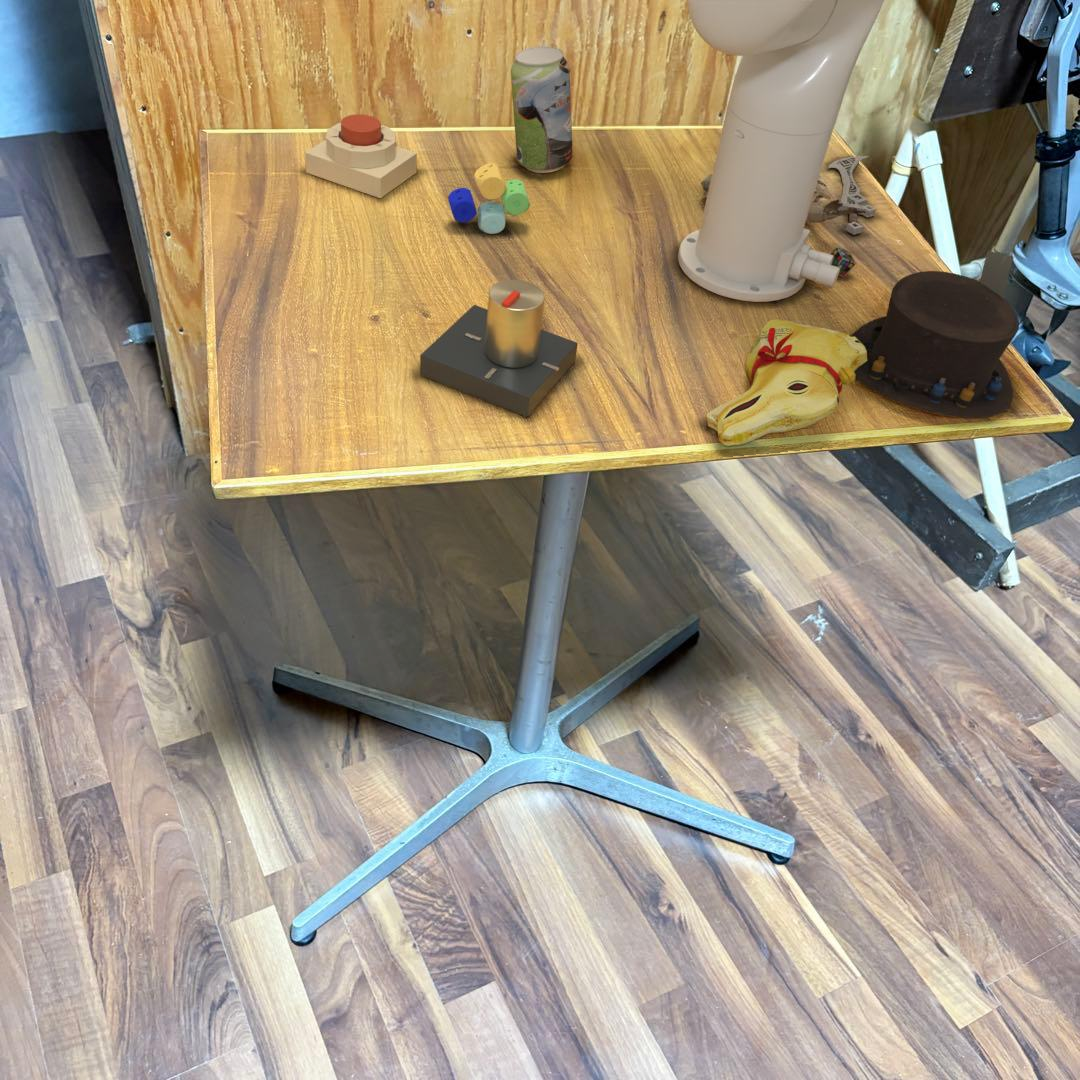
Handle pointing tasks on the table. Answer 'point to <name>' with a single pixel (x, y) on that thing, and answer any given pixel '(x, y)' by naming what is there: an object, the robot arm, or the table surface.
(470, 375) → the dial panel
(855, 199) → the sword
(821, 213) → the prawn
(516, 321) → the temp dial
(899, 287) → the top hat
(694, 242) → the robot arm
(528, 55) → the beverage can
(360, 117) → the red push button
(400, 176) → the button base
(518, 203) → the dice
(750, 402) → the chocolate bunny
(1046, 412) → the table surface
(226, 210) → the table surface
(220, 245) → the table surface
